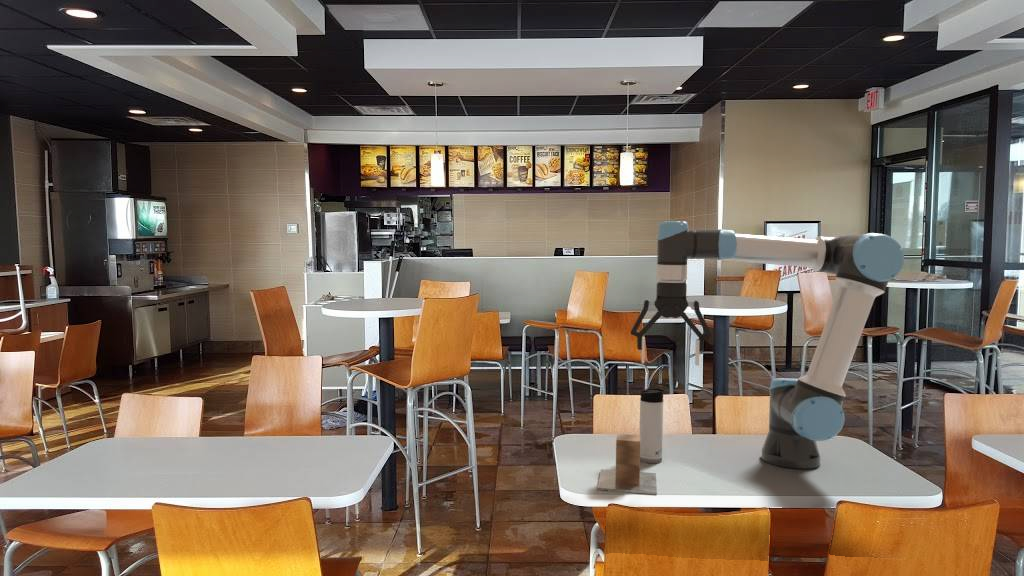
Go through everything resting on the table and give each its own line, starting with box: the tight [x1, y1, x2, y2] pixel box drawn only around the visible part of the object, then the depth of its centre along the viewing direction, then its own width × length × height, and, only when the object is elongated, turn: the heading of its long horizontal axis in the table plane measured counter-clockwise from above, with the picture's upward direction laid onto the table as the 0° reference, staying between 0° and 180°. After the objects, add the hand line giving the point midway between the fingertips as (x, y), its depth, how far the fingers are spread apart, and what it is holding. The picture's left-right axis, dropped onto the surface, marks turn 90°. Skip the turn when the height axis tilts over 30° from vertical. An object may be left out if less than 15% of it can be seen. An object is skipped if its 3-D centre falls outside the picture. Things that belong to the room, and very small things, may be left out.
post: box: [596, 468, 658, 495], centre depth 167 cm, size 14×14×8 cm
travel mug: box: [639, 387, 666, 464], centre depth 185 cm, size 6×7×20 cm
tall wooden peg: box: [615, 433, 641, 485], centre depth 167 cm, size 6×6×11 cm
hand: (669, 363), depth 173 cm, fingers open, 13 cm apart
